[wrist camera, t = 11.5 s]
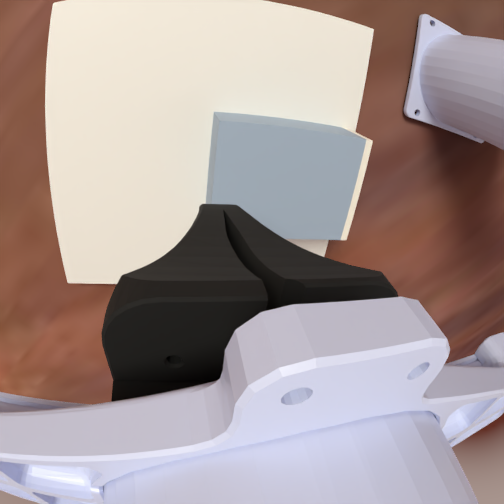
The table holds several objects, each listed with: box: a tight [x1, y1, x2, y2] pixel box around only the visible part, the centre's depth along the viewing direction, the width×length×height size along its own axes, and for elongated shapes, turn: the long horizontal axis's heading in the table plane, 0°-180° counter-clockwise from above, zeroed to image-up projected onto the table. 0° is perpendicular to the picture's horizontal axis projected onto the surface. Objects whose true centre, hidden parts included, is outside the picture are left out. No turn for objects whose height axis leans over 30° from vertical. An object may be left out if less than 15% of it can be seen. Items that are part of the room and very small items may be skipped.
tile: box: [45, 0, 374, 284], centre depth 17 cm, size 18×18×1 cm
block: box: [206, 112, 373, 240], centre depth 17 cm, size 3×6×8 cm
